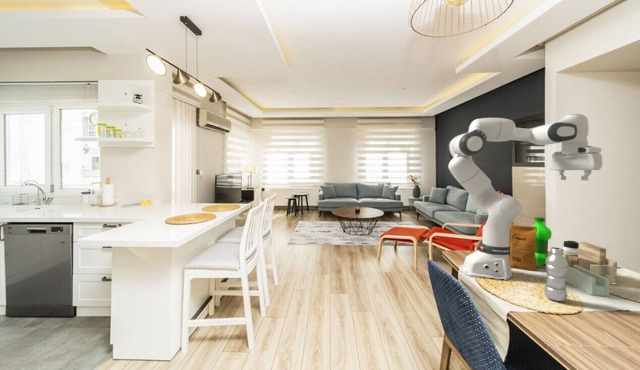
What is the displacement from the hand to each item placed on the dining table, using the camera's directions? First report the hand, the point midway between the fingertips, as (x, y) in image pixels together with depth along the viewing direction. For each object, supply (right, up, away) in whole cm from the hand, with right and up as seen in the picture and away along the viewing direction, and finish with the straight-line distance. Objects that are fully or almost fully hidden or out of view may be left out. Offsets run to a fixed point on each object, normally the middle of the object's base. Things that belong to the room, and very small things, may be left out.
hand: (573, 180), depth 124 cm
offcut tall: (+7, -46, 0) cm, 46 cm away
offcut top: (+8, -41, +7) cm, 42 cm away
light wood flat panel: (+11, -46, +3) cm, 47 cm away
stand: (-5, -46, -9) cm, 47 cm away
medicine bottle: (+19, -45, +22) cm, 53 cm away
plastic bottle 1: (0, -45, +21) cm, 49 cm away
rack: (+9, -46, +3) cm, 47 cm away
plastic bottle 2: (-27, -47, -21) cm, 58 cm away
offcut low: (+8, -46, +7) cm, 47 cm away
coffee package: (-13, -45, +16) cm, 49 cm away
